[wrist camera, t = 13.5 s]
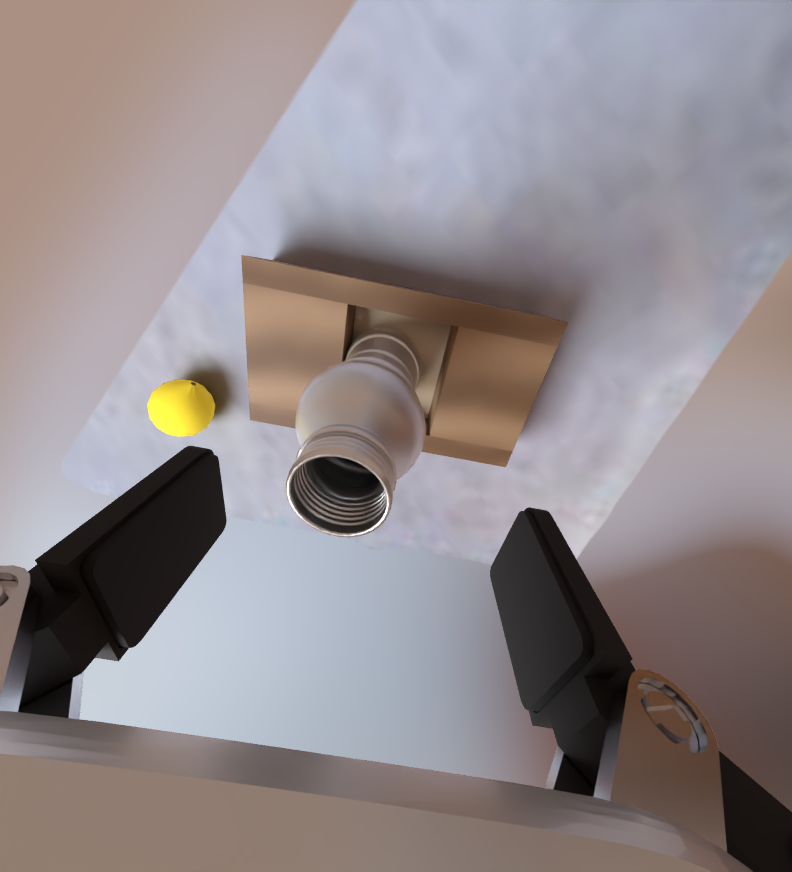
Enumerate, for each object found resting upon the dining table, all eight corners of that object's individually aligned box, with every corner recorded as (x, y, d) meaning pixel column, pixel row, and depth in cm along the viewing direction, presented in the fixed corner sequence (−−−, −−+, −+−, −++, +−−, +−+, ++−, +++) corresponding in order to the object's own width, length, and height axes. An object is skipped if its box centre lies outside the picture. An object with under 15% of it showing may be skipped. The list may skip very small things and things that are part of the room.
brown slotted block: (272, 260, 25) (241, 255, 21) (540, 315, 26) (567, 322, 22) (273, 399, 31) (250, 419, 27) (492, 440, 32) (505, 467, 28)
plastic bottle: (383, 406, 30) (340, 587, 12) (336, 353, 28) (201, 480, 10) (435, 367, 28) (475, 517, 10) (389, 306, 26) (337, 361, 8)
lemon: (213, 430, 34) (178, 458, 30) (168, 400, 33) (124, 425, 28) (236, 391, 31) (201, 416, 26) (188, 355, 29) (142, 376, 25)
